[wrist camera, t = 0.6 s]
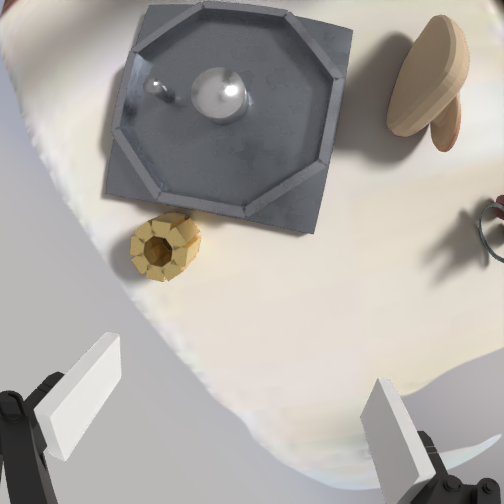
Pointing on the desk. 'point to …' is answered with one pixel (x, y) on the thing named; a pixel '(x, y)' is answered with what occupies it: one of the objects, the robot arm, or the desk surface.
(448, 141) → the brown rounded piece
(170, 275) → the planet gear
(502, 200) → the binoculars
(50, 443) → the robot arm
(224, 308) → the desk surface
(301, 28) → the tray
